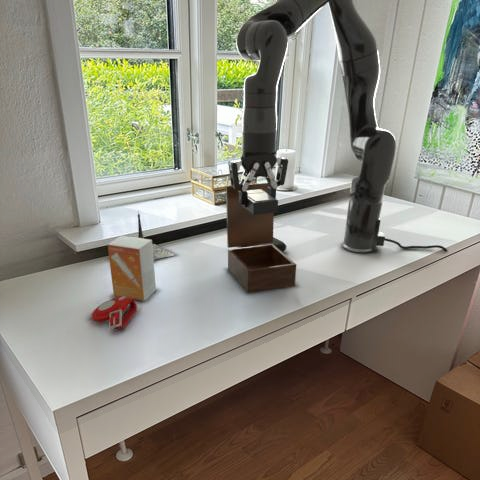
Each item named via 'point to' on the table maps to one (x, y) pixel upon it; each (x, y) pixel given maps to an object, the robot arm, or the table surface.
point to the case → (261, 268)
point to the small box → (132, 267)
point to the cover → (247, 220)
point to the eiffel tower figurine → (157, 250)
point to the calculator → (260, 202)
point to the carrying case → (276, 242)
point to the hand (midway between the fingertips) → (257, 204)
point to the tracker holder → (115, 312)
